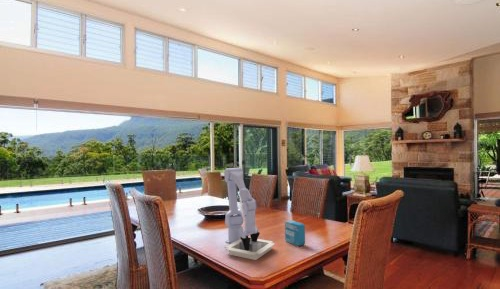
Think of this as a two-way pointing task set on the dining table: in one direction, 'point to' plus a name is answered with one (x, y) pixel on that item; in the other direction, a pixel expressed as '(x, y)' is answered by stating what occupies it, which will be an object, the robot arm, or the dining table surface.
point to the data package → (295, 233)
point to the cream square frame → (235, 250)
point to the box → (251, 246)
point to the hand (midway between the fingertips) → (250, 247)
